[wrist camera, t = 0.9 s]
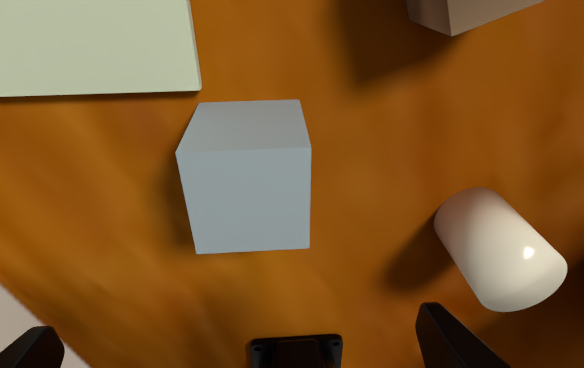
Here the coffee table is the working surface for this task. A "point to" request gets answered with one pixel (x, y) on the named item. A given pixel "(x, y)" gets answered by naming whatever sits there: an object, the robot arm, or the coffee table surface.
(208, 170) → the slate-blue block
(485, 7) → the walnut cube
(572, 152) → the coffee table surface
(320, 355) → the robot arm
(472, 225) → the ivory rounded cylinder
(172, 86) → the felt mat
